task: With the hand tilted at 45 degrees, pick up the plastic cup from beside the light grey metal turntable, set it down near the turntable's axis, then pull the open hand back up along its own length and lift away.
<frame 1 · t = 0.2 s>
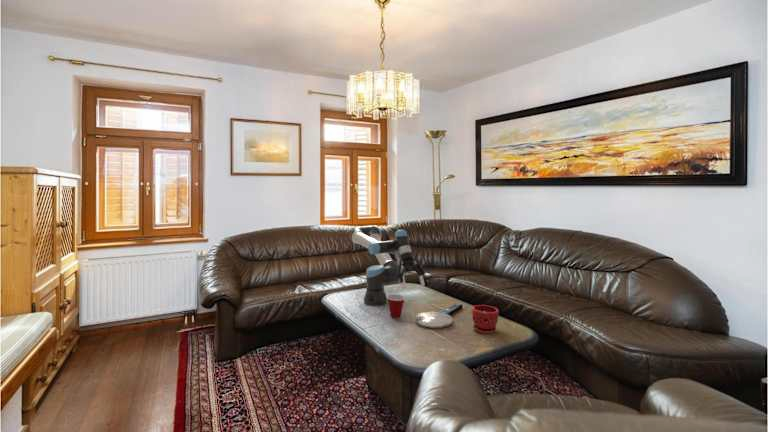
hand: (414, 287, 221), 15 cm above the table, tool tilted 30°, fingers open, 13 cm apart
plastic cup: (396, 316, 215), on the table
turntable: (433, 319, 205), point 2 cm above the table, hinge at 0.0°
plant pot: (485, 331, 193), on the table
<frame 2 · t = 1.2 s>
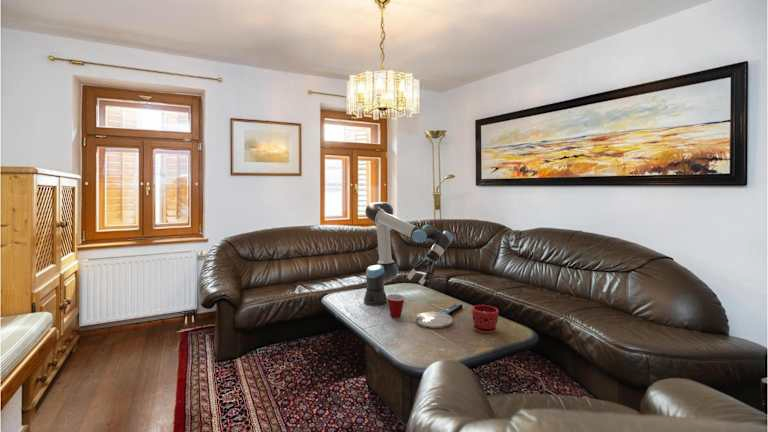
hand: (414, 281, 218), 20 cm above the table, tool tilted 45°, fingers open, 13 cm apart
nothing on the table moved.
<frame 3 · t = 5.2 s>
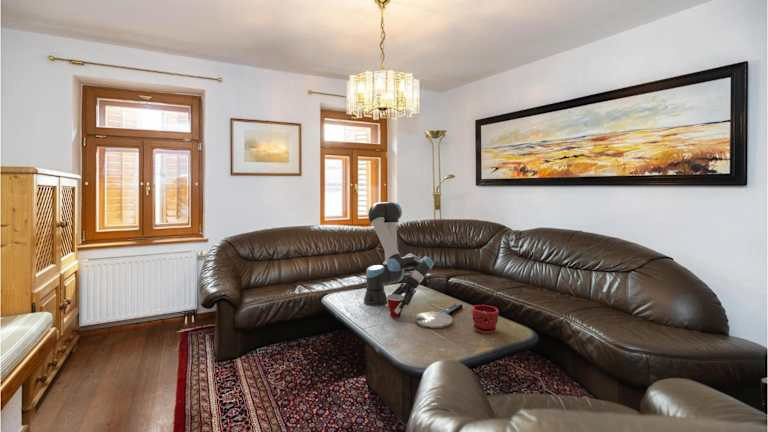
hand: (391, 309, 213), 4 cm above the table, tool tilted 45°, fingers closed on plastic cup, 10 cm apart
plastic cup: (396, 316, 215), on the table, touching gripper
everything else where it was.
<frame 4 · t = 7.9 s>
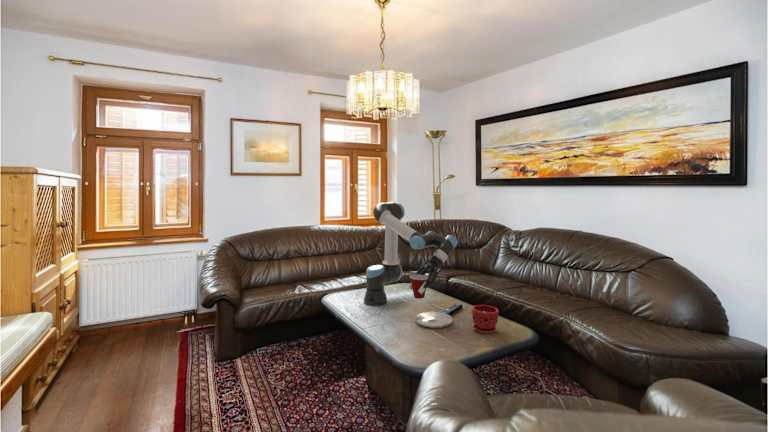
hand: (414, 290, 204), 18 cm above the table, tool tilted 45°, fingers closed on plastic cup, 10 cm apart
plastic cup: (419, 297, 206), point 13 cm above the table, touching gripper
everything else where it was.
when the fingers open (8 cm above the table, at t = 10.4 s): plastic cup moves 4 cm, resting on turntable.
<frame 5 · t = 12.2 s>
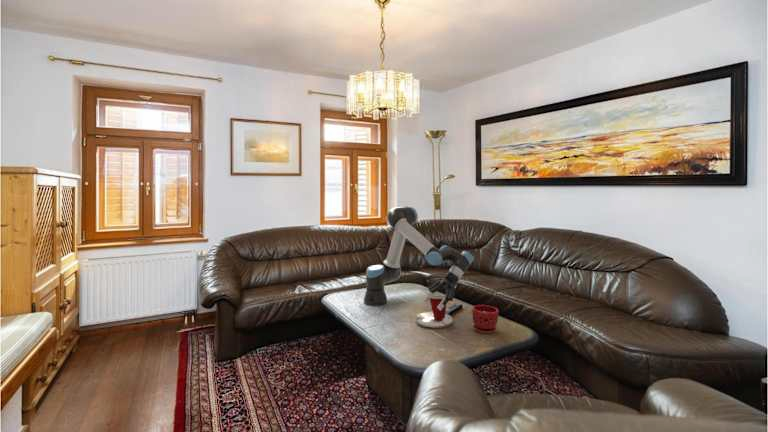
hand: (431, 305, 203), 10 cm above the table, tool tilted 45°, fingers open, 13 cm apart
plastic cup: (440, 318, 202), point 3 cm above the table, touching gripper, turntable
turntable: (433, 319, 205), point 2 cm above the table, hinge at 0.0°, touching plastic cup
everything else where it was.
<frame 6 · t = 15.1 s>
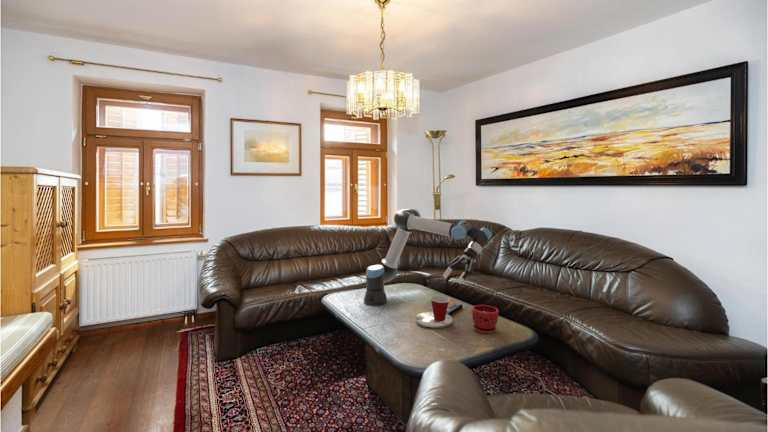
hand: (451, 279, 208), 23 cm above the table, tool tilted 45°, fingers open, 13 cm apart
plastic cup: (440, 319, 202), point 2 cm above the table, touching turntable
everything else where it was.
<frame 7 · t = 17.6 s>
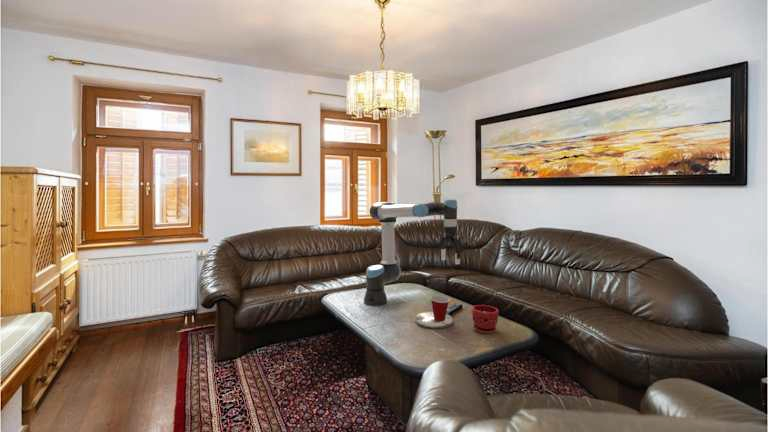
hand: (450, 262, 217), 31 cm above the table, tool pointing down, fingers open, 13 cm apart
nothing on the table moved.
at the end: plastic cup 3.9 cm from the turntable (horizontally); plastic cup tilted 0°; plastic cup point 2.4 cm above the table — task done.
